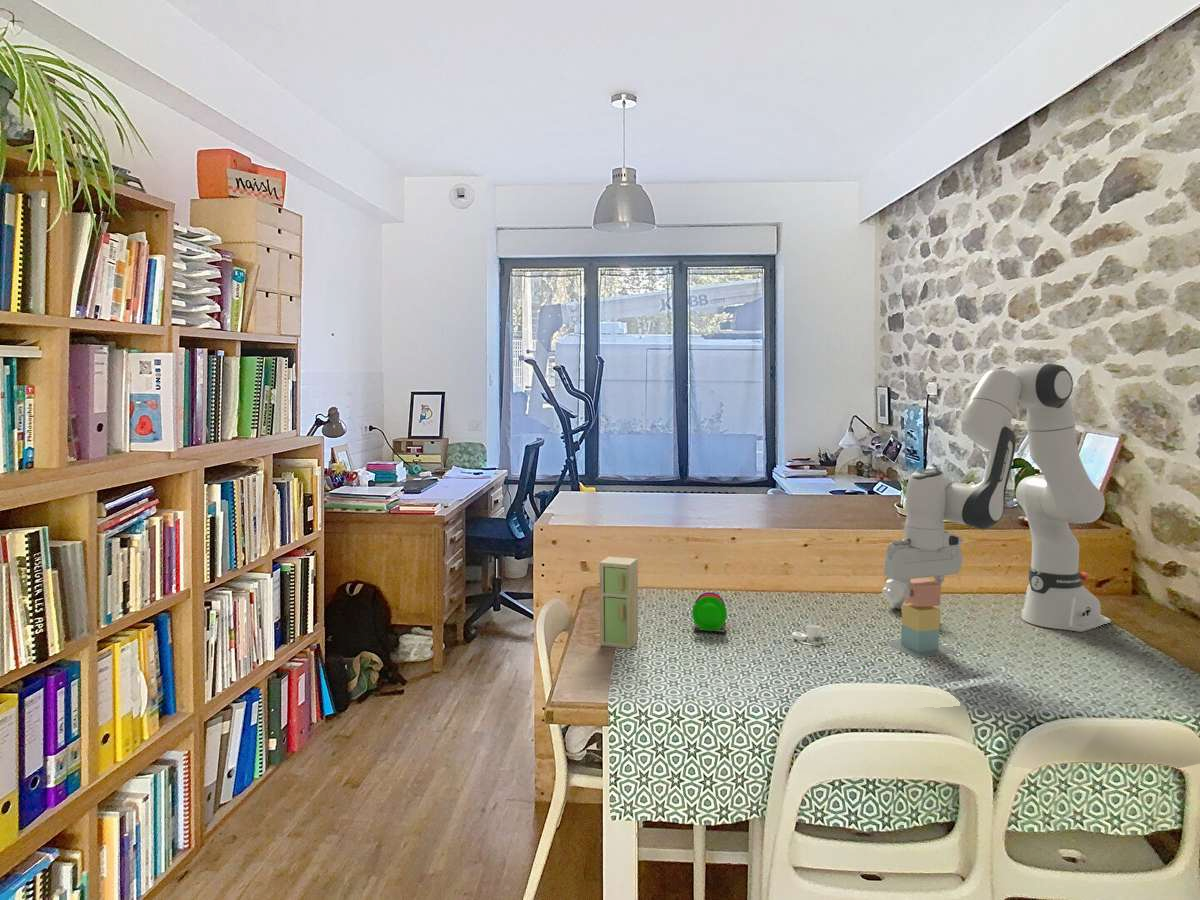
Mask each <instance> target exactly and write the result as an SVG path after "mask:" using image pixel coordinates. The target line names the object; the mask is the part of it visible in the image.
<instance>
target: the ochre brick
mask: <svg viewBox="0 0 1200 900" xmlns="http://www.w3.org/2000/svg"><path fill="white" fill-rule="evenodd" d="M940 623H941V608H940V607H938V606H919V607H916V606H914V605H912V604H911V603H909V604H903V605H902V613H901V626H902V625H904V626H907V627H909V628H911V629H914V630H916V631H918V632H921V631H929V630H936V629H939V630H940V626H941V625H940Z"/></svg>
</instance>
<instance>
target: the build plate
mask: <svg viewBox="0 0 1200 900" xmlns="http://www.w3.org/2000/svg"><path fill="white" fill-rule="evenodd" d="M882 643H883V644H885V645H888V646H889V647H892V648H893V649H896V650H898V651H900V652H902V653H905V654H907V655H909V656H911V657H913V658H916V659H921V658H928V657H934V656H940V655H947V654H948V655H949V654H956V653H957V650H953V649H952V648H949V647H947V646H945V645H942V644H941V643H939V649H938V650H932V651H925V652H916V651H914V650H912V649H910V648H907V647H905V646H903V645H901V639H895V640H888V641H882Z"/></svg>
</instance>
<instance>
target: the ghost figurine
mask: <svg viewBox="0 0 1200 900" xmlns="http://www.w3.org/2000/svg"><path fill="white" fill-rule="evenodd" d="M884 584H885V587H883V588H882V591H881V594H882V597H884V598H886V600H887V601H888V604H890V605H891V607H893V608H896V609H898V610H901V607H902V605H903V603H904V602H905V600H903V597H904V589H903V587H902V585H901V583H900V580H896V581H895V580H891V579H889V578H886V581H885V583H884Z"/></svg>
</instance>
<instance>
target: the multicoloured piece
mask: <svg viewBox="0 0 1200 900" xmlns="http://www.w3.org/2000/svg"><path fill="white" fill-rule="evenodd" d="M691 614H692V619H693V622H694V623H695V625H696V626H695V627H694V628H693V631H694V630H696V631H706V632H720V633H726V632H727V631H728V629H722V627H723V625H724V624H725V622H726V620H727V617H728V616H727V615H728V611H727V608H726V604H725V601H724V599H723V598H722V597H721V596H720V595H719V594H717V593H715V592H711V591H710V592H704V593H702V594H701V595H698V597H697V599H696V601H695V603H694V605H693V608H692V613H691Z"/></svg>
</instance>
